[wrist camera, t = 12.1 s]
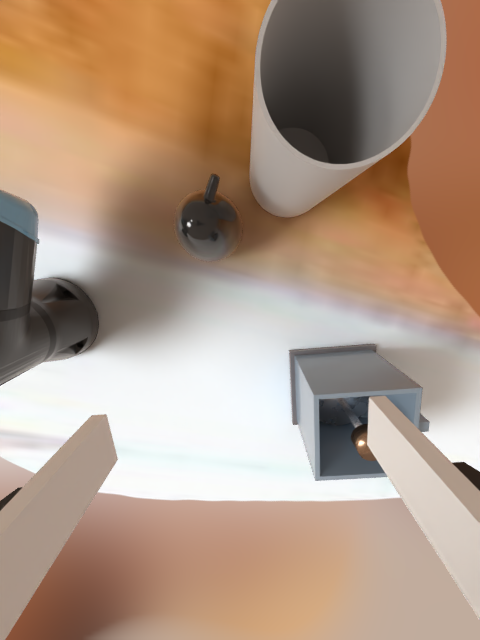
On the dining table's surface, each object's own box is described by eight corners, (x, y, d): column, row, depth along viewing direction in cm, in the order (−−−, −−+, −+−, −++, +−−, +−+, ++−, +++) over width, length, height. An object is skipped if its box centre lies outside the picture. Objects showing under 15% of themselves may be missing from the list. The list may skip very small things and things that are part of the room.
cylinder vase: (240, 207, 42) (234, 142, 18) (261, 122, 39) (287, -92, 15) (312, 226, 43) (398, 190, 19) (337, 145, 40) (482, -27, 15)
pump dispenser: (253, 213, 42) (257, 191, 28) (228, 270, 45) (220, 278, 30) (197, 186, 42) (171, 148, 27) (175, 246, 44) (139, 241, 29)
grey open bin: (292, 422, 52) (310, 485, 38) (289, 350, 48) (307, 390, 34) (378, 416, 52) (429, 479, 37) (382, 343, 48) (441, 381, 33)
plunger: (307, 424, 48) (329, 485, 35) (305, 368, 45) (329, 413, 32) (369, 420, 48) (414, 481, 35) (371, 363, 45) (421, 407, 32)
